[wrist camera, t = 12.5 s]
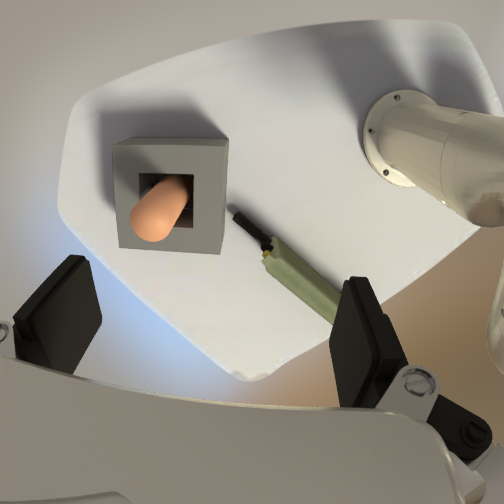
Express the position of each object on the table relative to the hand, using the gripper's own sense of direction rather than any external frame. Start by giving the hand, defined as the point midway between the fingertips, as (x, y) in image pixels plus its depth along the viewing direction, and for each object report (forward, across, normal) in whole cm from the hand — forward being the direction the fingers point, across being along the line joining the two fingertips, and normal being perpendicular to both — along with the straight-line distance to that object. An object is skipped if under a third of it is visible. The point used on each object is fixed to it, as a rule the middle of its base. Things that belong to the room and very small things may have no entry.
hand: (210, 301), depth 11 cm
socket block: (+28, +9, +4) cm, 30 cm away
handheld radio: (+30, -8, +16) cm, 34 cm away
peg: (+28, +9, +4) cm, 30 cm away
